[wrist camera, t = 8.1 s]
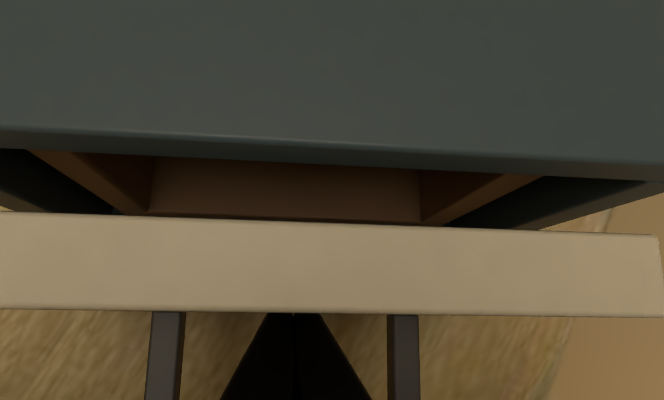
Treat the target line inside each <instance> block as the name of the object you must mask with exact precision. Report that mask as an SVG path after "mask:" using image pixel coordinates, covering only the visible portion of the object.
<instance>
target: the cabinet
mask: <svg viewBox="0 0 664 400" xmlns="http://www.w3.org/2000/svg"><path fill="white" fill-rule="evenodd" d="M26 149H31V150H50V151H70V152H90V153H109V154H129V155H149V156H169V157H188V158H208V159H228V160H247V161H267V162H287V163H306V164H326V165H346V166H365V167H385V168H405V169H424V170H444V171H464V172H483V173H503V174H523V175H542V177H540V178H538V179H536V180H534V181H532V182H530V183H528V184H526V185H524V186H522V187H520V188H518V189H516V190H514V191H512V192H509V193H507V194H505V195H503V196H501V197H499V198H497V199H495V200H493V201H491V202H489V203H487V204H485V205H483V206H481V207H479V208H477V209H475V210H473V211H471V212H469V213H467V214H464V215H462V216H460V217H458V218H456V219H454V220H452V221H450V222H448V223H445V224H443V225H441V226H439V227H458V228H486V229H513V230H539V229H542V228H546V227H549V226H552V225H556V224H559V223H563V222H566V221H569V220H573V219H576V218H579V217H583V216H586V215H589V214H593V213H596V212H600V211H603V210H606V209H610V208H613V207H616V206H620V205H623V204H626V203H630V202H633V201H636V200H640V199H643V198H647V197H650V196H653V195H656V194H660V193H663V192H664V0H0V206H3V207H5V208H8V209H11V210H13V211H17V212H45V213H72V214H100V215H125V214H123V213H122V212H120V211H119V210H118V209H116V208H115V207H113V206H112V205H110V204H109V203H107V202H105V201H104V200H102V199H101V198H99V197H98V196H96V195H95V194H93V193H92V192H90V191H89V190H87V189H86V188H84V187H83V186H81V185H80V184H78V183H77V182H75V181H74V180H72V179H70V178H69V177H67V176H66V175H64V174H63V173H61V172H60V171H58V170H57V169H55V168H54V167H52V166H51V165H49V164H48V163H46V162H45V161H43V160H42V159H40V158H39V157H37V156H35V155H34V154H32V153H31V152H29V151H28V150H26Z"/></svg>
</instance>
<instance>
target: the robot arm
mask: <svg viewBox="0 0 664 400" xmlns="http://www.w3.org/2000/svg"><path fill="white" fill-rule="evenodd" d="M220 400H372V399H371V397H370V396H369V394H368V392H367V391H366V389H365V388H364V386H363V384H362V383H361V381H360V379H359V378H358V376H357V374H356V373H355V371H354V369H353V368H352V366H351V364H350V363H349V361H348V359H347V358H346V356H345V355H344V353H343V351H342V350H341V348H340V346H339V345H338V343H337V341H336V340H335V338H334V336H333V335H332V333H331V331H330V330H329V328H328V326H327V325H326V323H325V322H324V320H323V318H322V317H321V315H320V314H319V313H295V314H294V316H293V314H292V313H267V315H266V316H265V318H264V319H263V321H262V323H261V325H260V327H259V328H258V330H257V332H256V334H255V336H254V338H253V339H252V341H251V343H250V345H249V347H248V349H247V350H246V352H245V354H244V356H243V358H242V359H241V361H240V363H239V365H238V367H237V369H236V370H235V372H234V374H233V376H232V378H231V379H230V381H229V383H228V385H227V387H226V389H225V390H224V392H223V394H222V396H221V398H220Z"/></svg>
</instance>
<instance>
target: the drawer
mask: <svg viewBox="0 0 664 400" xmlns="http://www.w3.org/2000/svg"><path fill="white" fill-rule="evenodd" d="M26 150H28V151H29V152H31V153H32V154H34V155H35V156H37V157H39V158H40V159H42V160H43V161H45V162H46V163H48V164H49V165H51V166H52V167H54V168H55V169H57V170H58V171H60V172H61V173H63V174H64V175H66V176H67V177H69V178H70V179H72V180H74V181H75V182H77V183H78V184H80V185H81V186H83V187H84V188H86V189H87V190H89V191H90V192H92V193H93V194H95V195H96V196H98V197H99V198H101V199H102V200H104V201H105V202H107V203H109V204H110V205H112V206H113V207H115V208H116V209H118V210H119V211H120V212H122V213H123V214H125V215H100V214H72V213H45V212H17V211H0V309H35V310H108V311H153V312H152V320H151V331H150V341H149V352H148V362H147V373H146V383H145V394H144V400H179V399H180V386H181V374H182V361H183V349H184V337H185V324H186V312H254V313H328V314H387V390H388V400H421V397H420V358H419V319H418V315H474V316H547V317H620V318H624V317H625V318H663V317H664V277H663V270H662V262H661V256H660V248H659V241H658V238H657V237H656V236H653V235H650V234H649V235H648V234H621V233H596V232H568V231H541V230H513V229H486V228H458V227H439V226H441V225H443V224H445V223H448V222H450V221H452V220H454V219H456V218H458V217H460V216H462V215H464V214H467V213H469V212H471V211H473V210H475V209H477V208H479V207H481V206H483V205H485V204H487V203H489V202H491V201H493V200H495V199H497V198H499V197H501V196H503V195H505V194H507V193H509V192H512V191H514V190H516V189H518V188H520V187H522V186H524V185H526V184H528V183H530V182H532V181H534V180H536V179H538V178H540V177H542V175H523V174H503V173H483V172H464V171H444V170H424V169H405V168H385V167H365V166H346V165H326V164H306V163H287V162H267V161H247V160H228V159H208V158H188V157H169V156H149V155H129V154H109V153H90V152H70V151H50V150H31V149H26Z"/></svg>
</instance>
